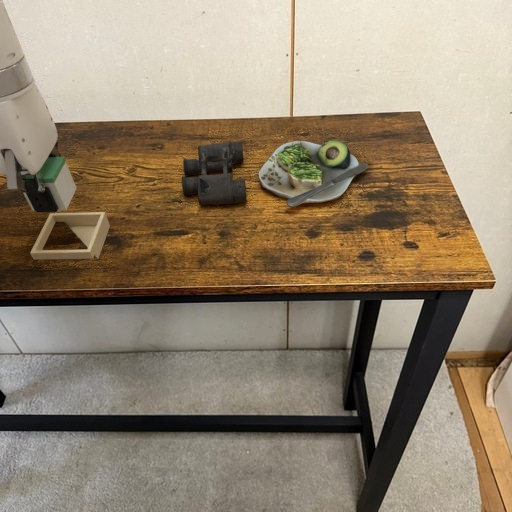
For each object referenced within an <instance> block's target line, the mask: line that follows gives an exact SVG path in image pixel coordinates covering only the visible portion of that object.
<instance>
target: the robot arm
mask: <svg viewBox="0 0 512 512" xmlns="http://www.w3.org/2000/svg"><path fill="white" fill-rule="evenodd" d="M58 137H59V134H58V130H57V126H56V124H55V122H54V118H53V116H52V114H51V112H50V110H49V108H48V105H47V103H46V100H45V98H44V97H43V95H42V93H41V91H40V89H39V87H38V85H37V83H36V79H35V77H34V75H33V73H32V69H31V67H30V64H29V62H28V61H27V57H26V54H25V52H24V50H23V48H22V45H21V43H20V40H19V38H18V36H17V33H16V30H15V28H14V26H13V23H12V21H11V18H10V16H9V13H8V11H7V9H6V7H5V4H4V2H3V0H0V175H1V176H2V177H6V186H7V189H8V190H9V191H18V192H21V193H22V194H23V193H26V194H27V196H28V198H29V200H30V202H31V204H32V206H33V208H34V210H35V211H34V212H35V213H58V211H59V210H58V206H57V204H56V202H55V200H54V198H53V196H52V193H51V191H50V189H49V187H45V185H44V182H43V178H42V175H41V171H40V169H41V167H42V166H43V164H44V163H45V161H46V159H47V158H48V157H62V154H61V152H60V151H59V149H58V148H59V147H58V145H59V142H58ZM25 175H33V177H34V181H35V182H32V181H27V179H26V176H25Z"/></svg>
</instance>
